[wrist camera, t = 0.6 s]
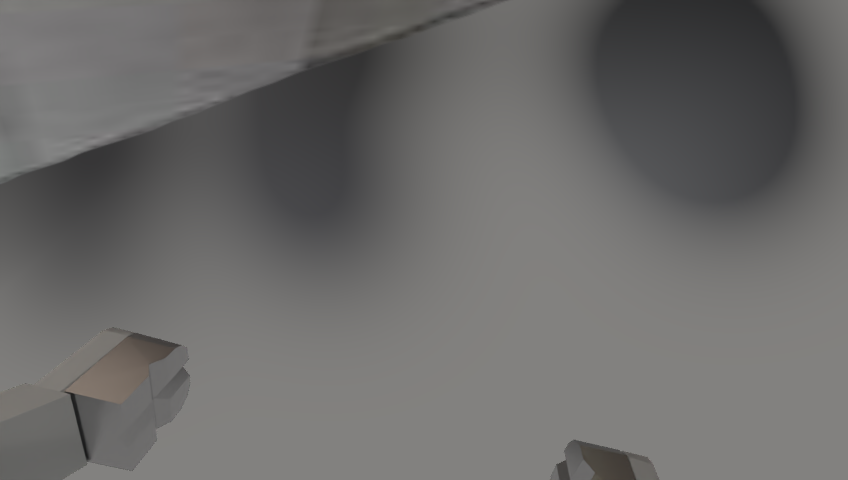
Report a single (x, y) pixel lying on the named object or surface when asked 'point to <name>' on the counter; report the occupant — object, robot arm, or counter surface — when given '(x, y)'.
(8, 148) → the counter surface
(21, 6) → the counter surface
